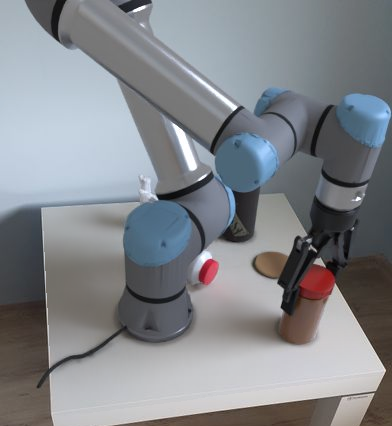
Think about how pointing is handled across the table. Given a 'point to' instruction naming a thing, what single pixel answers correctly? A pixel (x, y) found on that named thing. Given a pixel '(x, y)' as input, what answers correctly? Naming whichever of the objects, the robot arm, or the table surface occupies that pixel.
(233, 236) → the container
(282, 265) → the coaster
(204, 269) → the pill bottle
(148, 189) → the koala figurine
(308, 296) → the jar lid
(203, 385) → the table surface
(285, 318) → the sauce jar
